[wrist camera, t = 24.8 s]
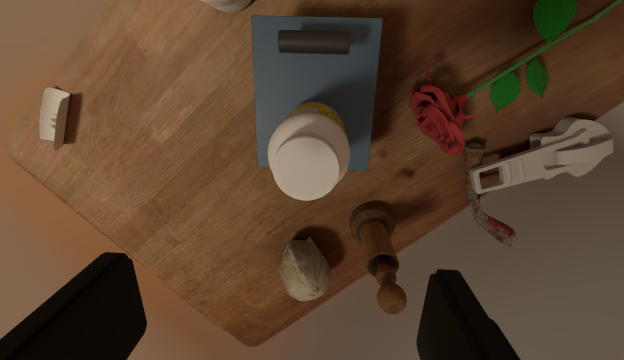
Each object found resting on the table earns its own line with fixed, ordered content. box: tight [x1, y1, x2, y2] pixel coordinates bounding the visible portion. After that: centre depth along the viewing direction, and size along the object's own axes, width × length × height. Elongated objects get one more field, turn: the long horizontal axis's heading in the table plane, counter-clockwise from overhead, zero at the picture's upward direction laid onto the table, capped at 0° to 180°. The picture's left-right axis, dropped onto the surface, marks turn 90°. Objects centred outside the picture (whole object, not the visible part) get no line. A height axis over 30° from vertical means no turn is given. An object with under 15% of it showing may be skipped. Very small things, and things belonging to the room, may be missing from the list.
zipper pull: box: [470, 117, 613, 194], centre depth 39 cm, size 8×18×4 cm, turn 109°
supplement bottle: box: [268, 102, 350, 201], centre depth 26 cm, size 7×7×13 cm
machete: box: [464, 142, 517, 249], centre depth 44 cm, size 21×3×5 cm
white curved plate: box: [39, 88, 70, 151], centre depth 41 cm, size 4×8×3 cm
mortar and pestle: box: [350, 203, 407, 314], centre depth 38 cm, size 7×6×18 cm
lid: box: [251, 15, 383, 171], centre depth 29 cm, size 15×13×6 cm
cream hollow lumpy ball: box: [278, 237, 331, 301], centre depth 45 cm, size 9×8×10 cm
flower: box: [408, 0, 623, 157], centre depth 34 cm, size 13×12×30 cm
